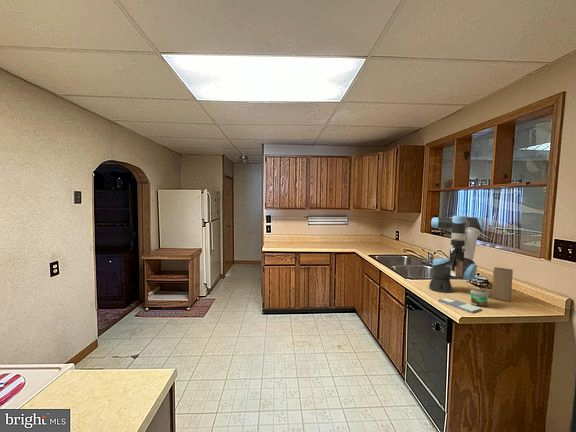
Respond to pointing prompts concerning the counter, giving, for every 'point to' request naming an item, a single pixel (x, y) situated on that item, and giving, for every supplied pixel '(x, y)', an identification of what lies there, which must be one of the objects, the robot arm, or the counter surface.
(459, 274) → the walnut pillar
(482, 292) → the food container
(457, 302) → the board
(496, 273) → the wooden block
